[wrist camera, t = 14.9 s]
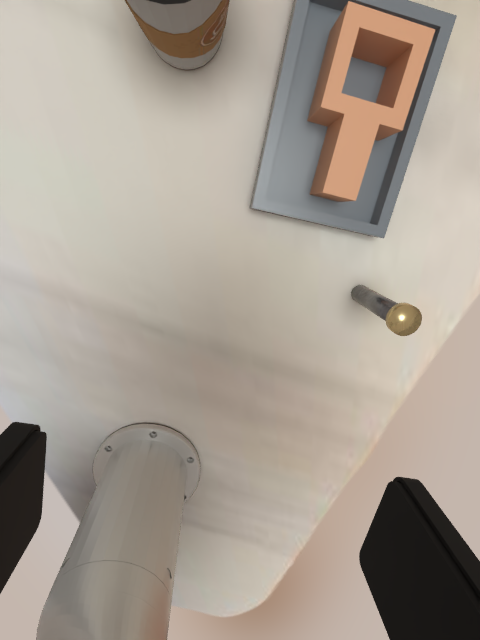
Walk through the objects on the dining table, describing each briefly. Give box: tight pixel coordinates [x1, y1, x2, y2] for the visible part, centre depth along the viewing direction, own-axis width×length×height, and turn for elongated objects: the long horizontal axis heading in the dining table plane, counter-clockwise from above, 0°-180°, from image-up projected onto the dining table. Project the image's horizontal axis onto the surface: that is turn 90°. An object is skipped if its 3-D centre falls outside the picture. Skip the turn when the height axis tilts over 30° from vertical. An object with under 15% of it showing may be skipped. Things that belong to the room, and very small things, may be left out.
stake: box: [351, 285, 422, 336], centre depth 33 cm, size 3×3×10 cm
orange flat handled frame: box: [307, 1, 435, 202], centre depth 30 cm, size 7×13×4 cm, turn 167°
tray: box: [250, 0, 456, 238], centre depth 31 cm, size 18×13×2 cm
